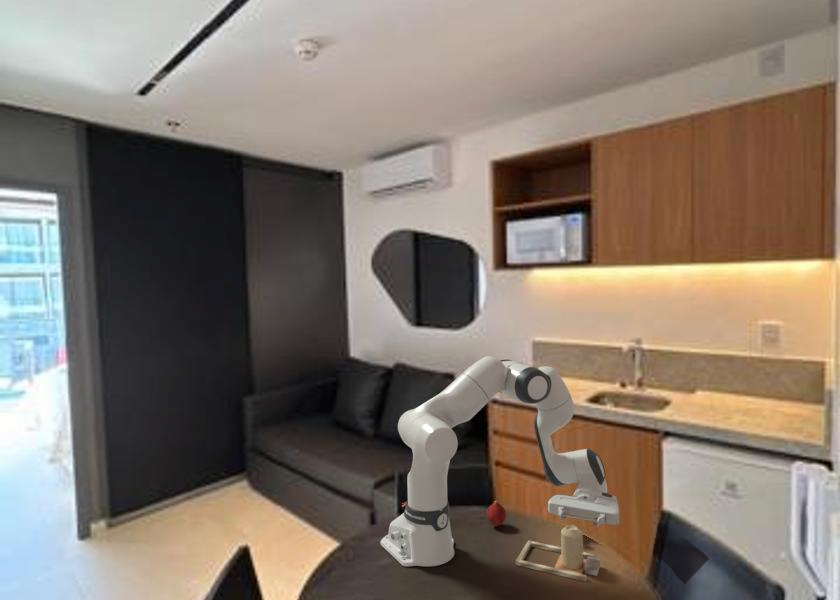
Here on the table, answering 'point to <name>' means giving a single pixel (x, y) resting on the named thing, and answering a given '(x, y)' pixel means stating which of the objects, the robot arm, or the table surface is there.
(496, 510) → the onion
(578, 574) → the beige frame
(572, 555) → the candle
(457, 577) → the table surface
